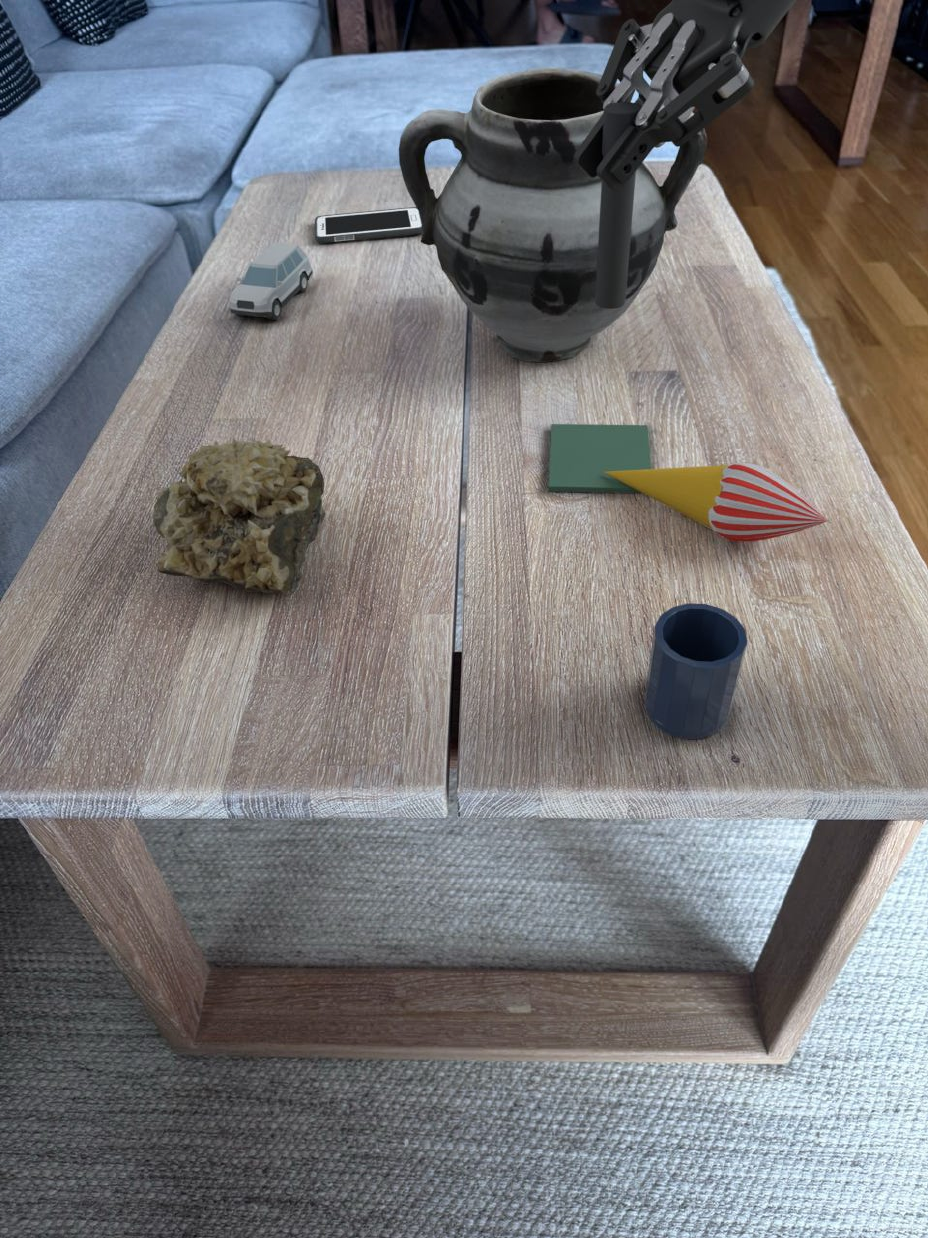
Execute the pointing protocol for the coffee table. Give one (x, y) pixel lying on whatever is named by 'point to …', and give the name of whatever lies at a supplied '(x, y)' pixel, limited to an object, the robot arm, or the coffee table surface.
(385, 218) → the cell phone
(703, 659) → the pen cup
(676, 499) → the ice cream cone
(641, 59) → the robot arm
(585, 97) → the ceramic pot
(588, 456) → the felt pad
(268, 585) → the mineral specimen
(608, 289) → the cylinder
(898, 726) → the coffee table surface
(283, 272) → the toy car
